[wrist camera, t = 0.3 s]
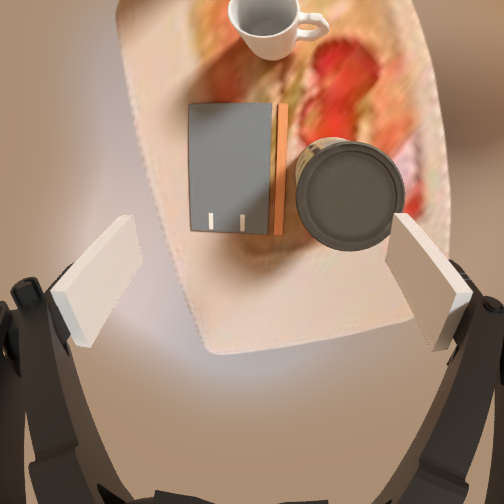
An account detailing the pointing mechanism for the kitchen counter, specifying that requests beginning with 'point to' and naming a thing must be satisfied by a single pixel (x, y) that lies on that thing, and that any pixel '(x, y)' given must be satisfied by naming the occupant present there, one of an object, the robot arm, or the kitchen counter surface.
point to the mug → (273, 26)
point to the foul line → (281, 168)
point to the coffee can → (347, 193)
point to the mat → (230, 166)
